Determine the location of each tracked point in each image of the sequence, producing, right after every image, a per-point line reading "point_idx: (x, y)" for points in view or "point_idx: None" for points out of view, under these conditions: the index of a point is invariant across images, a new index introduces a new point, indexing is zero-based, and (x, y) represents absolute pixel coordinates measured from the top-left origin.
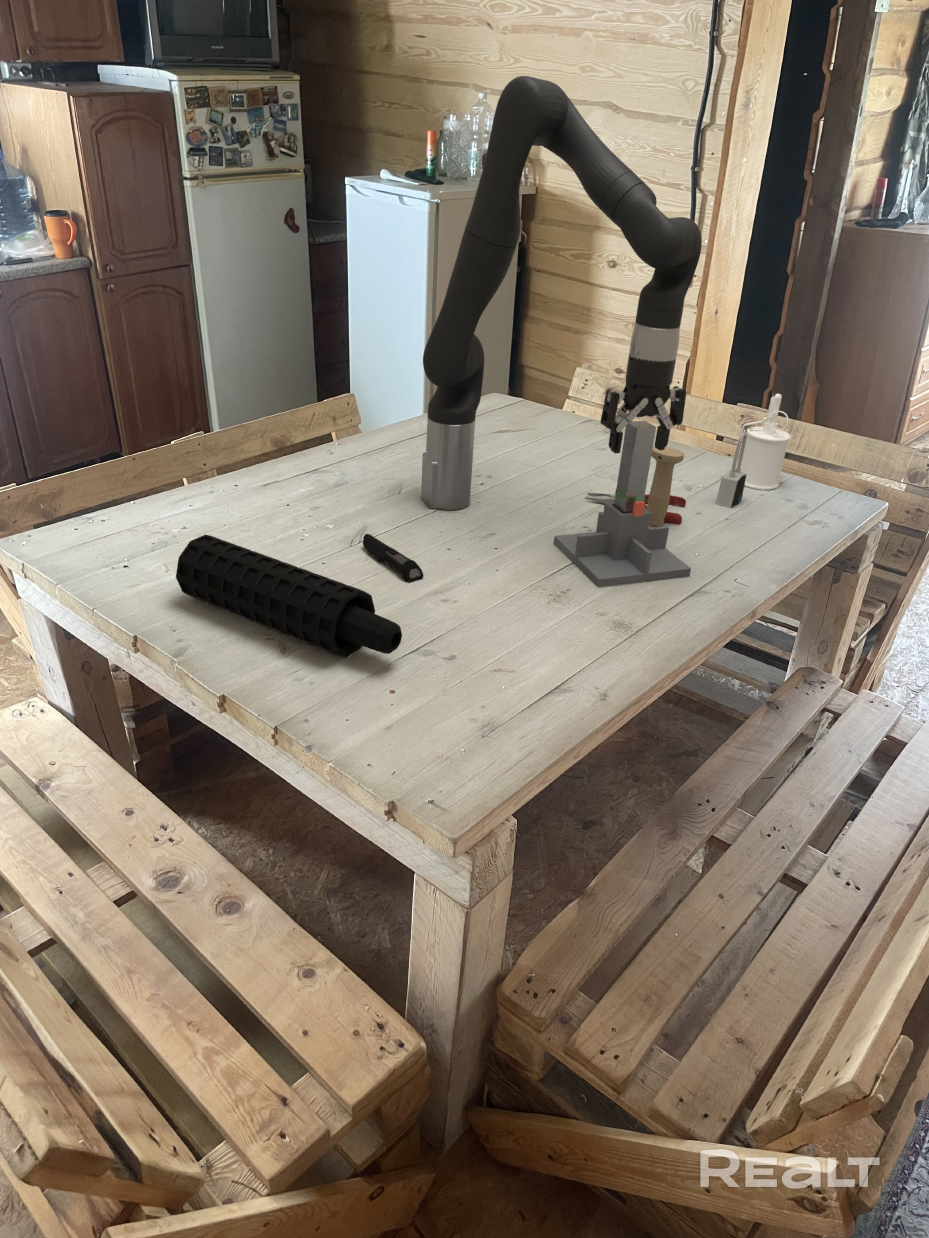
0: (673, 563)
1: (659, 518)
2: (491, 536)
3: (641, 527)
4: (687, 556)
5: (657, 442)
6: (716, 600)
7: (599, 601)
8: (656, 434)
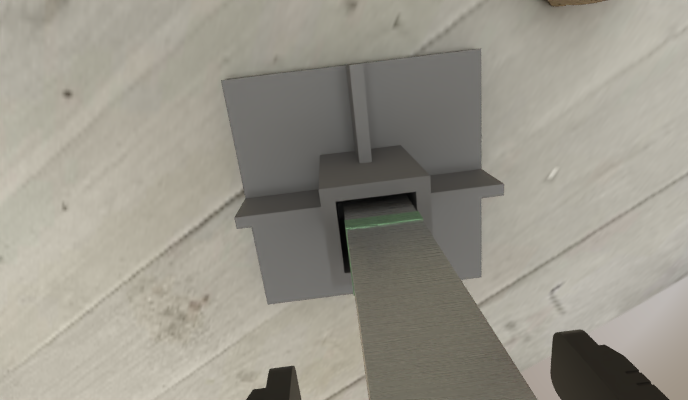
0: (456, 253)
1: (565, 4)
2: (58, 14)
3: None
4: (524, 182)
5: (572, 372)
6: None
7: (255, 340)
8: (602, 384)
